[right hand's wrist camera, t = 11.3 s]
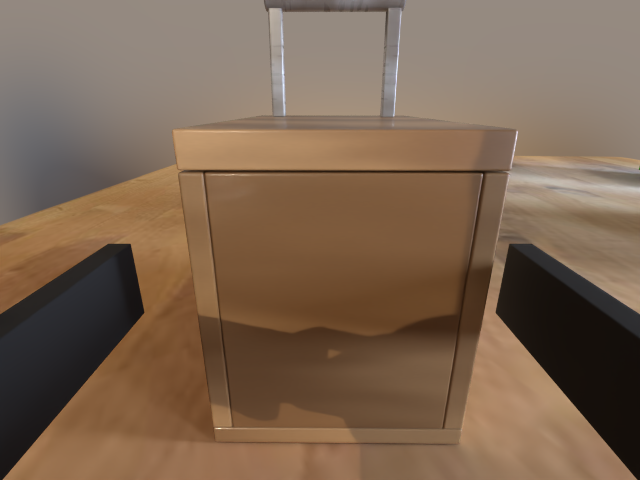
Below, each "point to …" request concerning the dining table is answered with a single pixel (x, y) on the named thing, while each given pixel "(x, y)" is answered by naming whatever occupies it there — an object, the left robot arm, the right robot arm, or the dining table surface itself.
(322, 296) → the chest
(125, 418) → the dining table surface
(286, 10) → the lid
